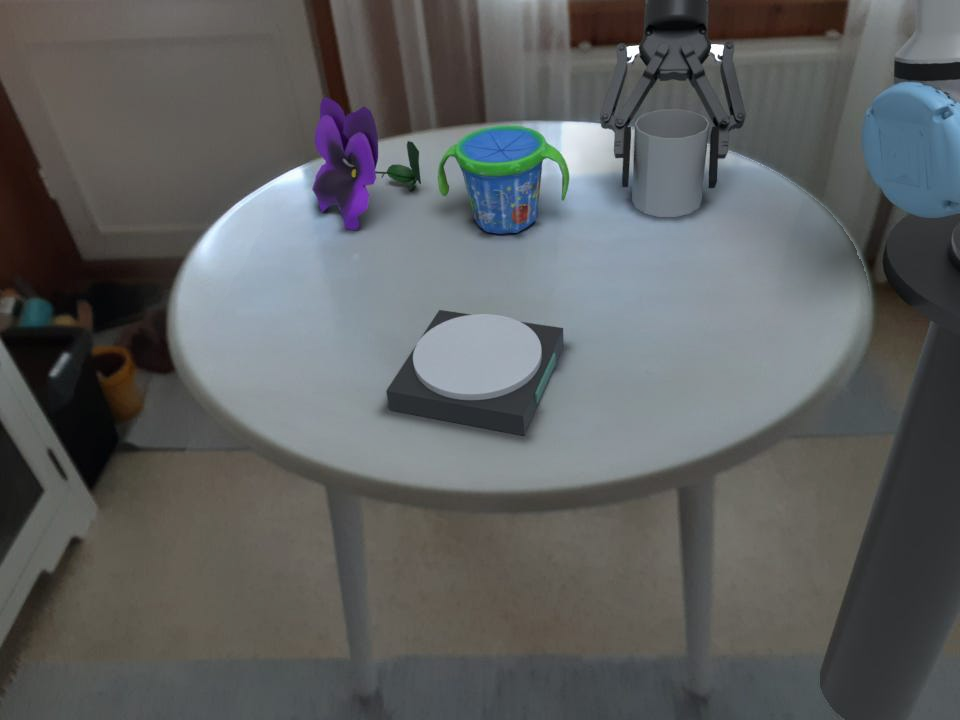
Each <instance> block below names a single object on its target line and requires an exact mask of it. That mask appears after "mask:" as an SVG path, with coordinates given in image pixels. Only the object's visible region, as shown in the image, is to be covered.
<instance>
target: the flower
mask: <svg viewBox="0 0 960 720" xmlns="http://www.w3.org/2000/svg"><path fill="white" fill-rule="evenodd" d="M319 104H320V105H319V120H318V123H317V126H316V129H315V135H314V146H315V148H316V152H318V154H319V155H320V156H321V158H322V159H323V160H324V161H325V163H323V164H322V165H321V166H320V168H319V170H318V171H317V173H316V174H315V179H314V182H313V185H312V188H311V190H312V192H313V193H314V196H315V197H316V200H317V203H318V205H319V207H320V210H321V212H322V213H324V212H325V211H326V210H327V209H328V208H329V207H330V206H332V205H337V207H338V209H339V211H340V213H341V217H342V221H343V225H344V227H345V229H346V230H347V229H348V230H349V231H353V230H354V231H355V230H356V231H357V230H359V227H360V219H359V216H361V215H362V214H363V213H364V212H365V211H367V209H368V208H369V201H370V192H369V191H368V189H367V186H372V185H375V183H376V181H377V174H378V175H379V174H380V175H381V174H382V175H381V179H383V178H384V176H385V175H387V176H388V177H389V178H390V179H392V180H394V181H395V182H399V183H403V184H407V183H409V185H408V191H409V192H410V191H411V190H413V188H414V187H415V185H416V184H417V182H418V184H419V185H421V184H422V180H421V172H420V151H419V149H418V148H417V146H416V145H415V143H414V142H413V141H410V140H407V142H406V150H407V151H406V152H407V157H408V162H409V166H406V165H403V164H399V163H398V164H391V165H390V166H388V168H387V170H386V171H377V170H376V168H377V164H378V160H379V136H378V130H377V124H376V121H375V118H374V114H373V113H372V111H371V109H369V108H367V107H366V106H362V107H360V108H359V109H357V110H356V111H354V112H349V113H347V114H345V111H344V109H343V108H342V106H340V104H339V103H337V102H336V101H335V100H333V99H332V98H329V97H327V96H325V97H324V98H322V99H321V101H320V103H319Z"/></svg>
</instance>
